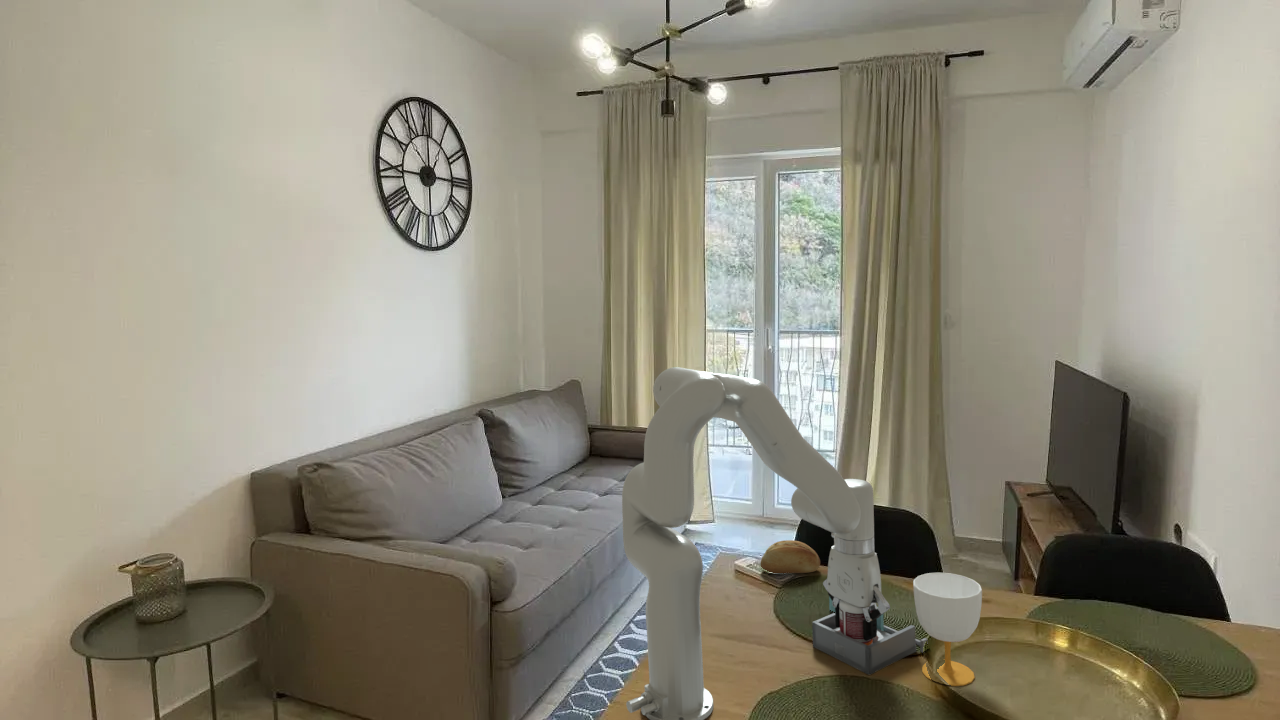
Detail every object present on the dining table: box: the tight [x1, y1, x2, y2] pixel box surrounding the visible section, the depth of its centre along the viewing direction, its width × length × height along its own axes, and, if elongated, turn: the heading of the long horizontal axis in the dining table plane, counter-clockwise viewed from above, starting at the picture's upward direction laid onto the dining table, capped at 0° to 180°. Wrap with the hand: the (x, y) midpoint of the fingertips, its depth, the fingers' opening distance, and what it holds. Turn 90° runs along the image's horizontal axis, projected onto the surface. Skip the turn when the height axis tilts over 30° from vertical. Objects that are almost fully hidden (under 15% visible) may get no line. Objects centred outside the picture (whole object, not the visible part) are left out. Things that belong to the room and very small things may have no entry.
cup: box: [912, 572, 983, 687], centre depth 136 cm, size 12×12×17 cm
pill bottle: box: [839, 600, 873, 645], centre depth 146 cm, size 6×6×11 cm
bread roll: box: [760, 539, 821, 574], centre depth 187 cm, size 10×15×8 cm, turn 87°
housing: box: [811, 612, 928, 676], centre depth 148 cm, size 17×16×5 cm
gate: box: [828, 595, 885, 632], centre depth 159 cm, size 1×14×6 cm, turn 34°
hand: (855, 630), depth 146 cm, fingers closed on pill bottle, 6 cm apart
